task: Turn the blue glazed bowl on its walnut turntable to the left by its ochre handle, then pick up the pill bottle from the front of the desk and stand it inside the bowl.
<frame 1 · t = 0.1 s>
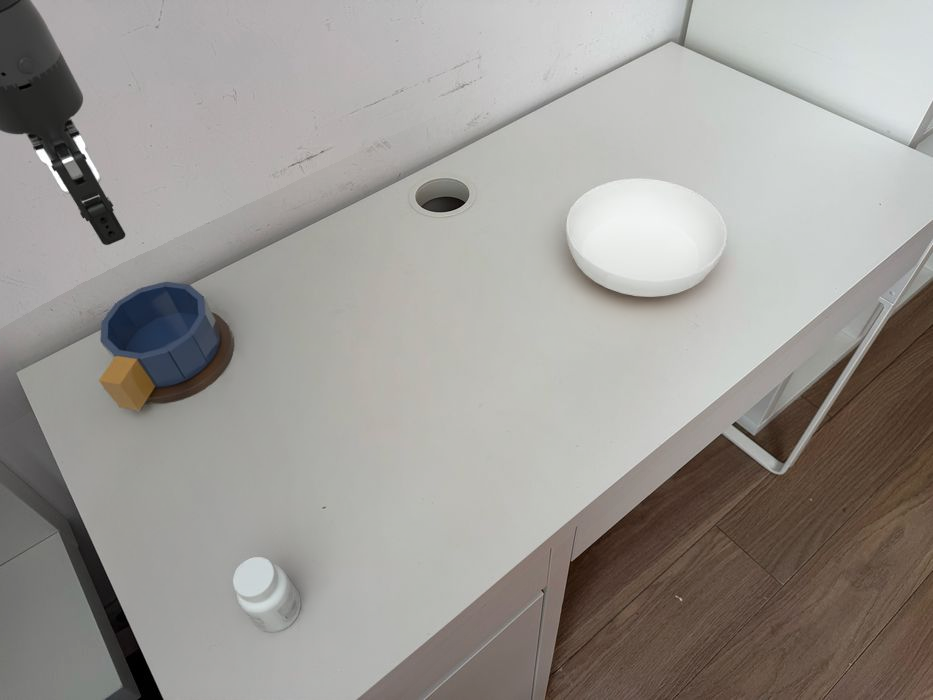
hand: (102, 217, 68), 21 cm above the table, tool pointing down, fingers open, 8 cm apart
turntable: (176, 356, 83), on the table
serving bowl: (155, 345, 79), point 4 cm above the table, hinge at 0.0°
pill bottle: (278, 609, 63), on the table
bowl: (638, 263, 90), on the table
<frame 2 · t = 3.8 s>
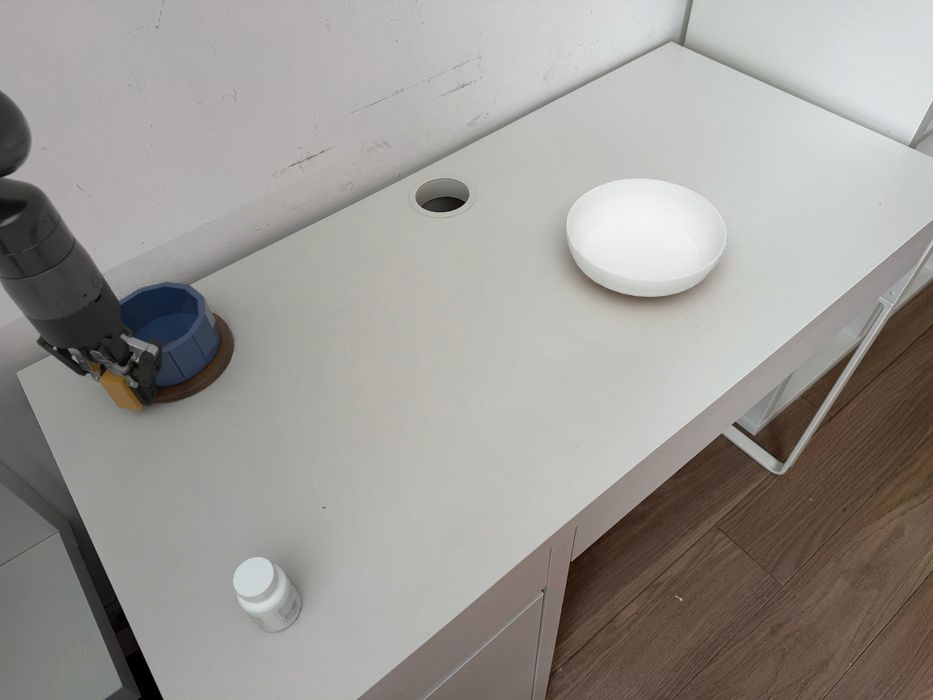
hand: (137, 396, 77), 2 cm above the table, tool pointing down, fingers closed on serving bowl, 2 cm apart
serving bowl: (155, 345, 79), point 4 cm above the table, hinge at 0.0°, touching gripper
everything else where it was.
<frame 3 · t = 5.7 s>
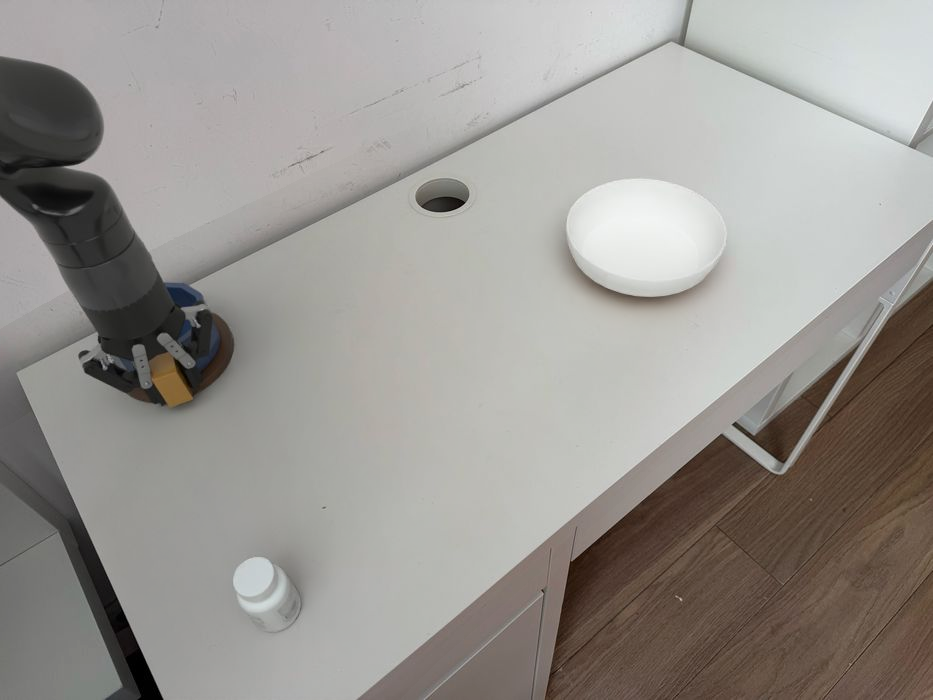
hand: (179, 391, 77), 2 cm above the table, tool pointing down, fingers closed on serving bowl, 3 cm apart
serving bowl: (164, 344, 79), point 4 cm above the table, hinge at 36.5°, touching gripper
everything else where it was.
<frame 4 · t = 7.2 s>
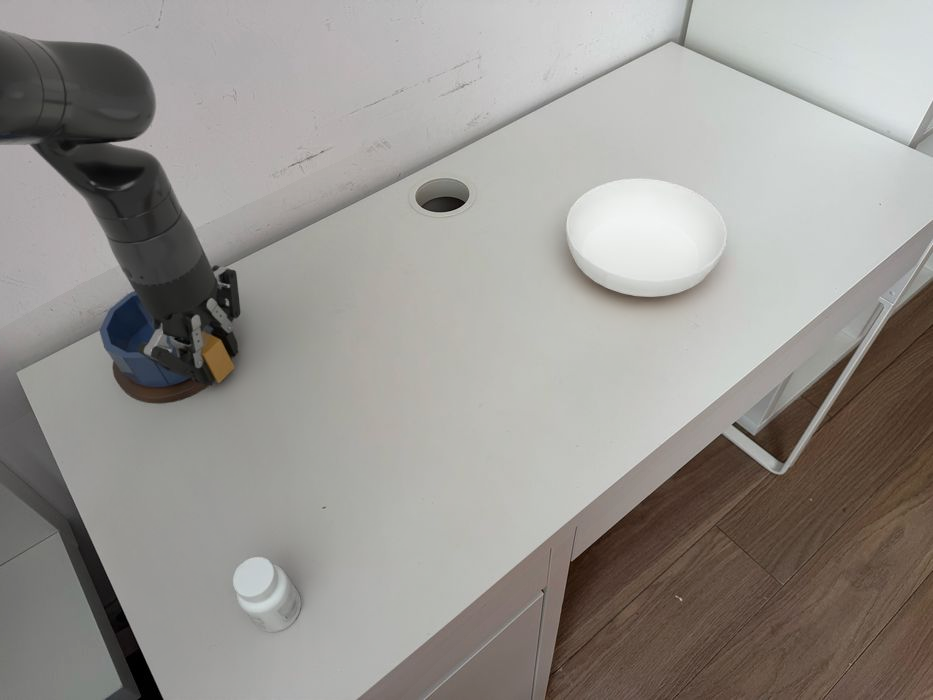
hand: (218, 366, 79), 2 cm above the table, tool pointing down, fingers open, 4 cm apart
serving bowl: (173, 339, 80), point 4 cm above the table, hinge at 72.4°, touching gripper
everything else where it was.
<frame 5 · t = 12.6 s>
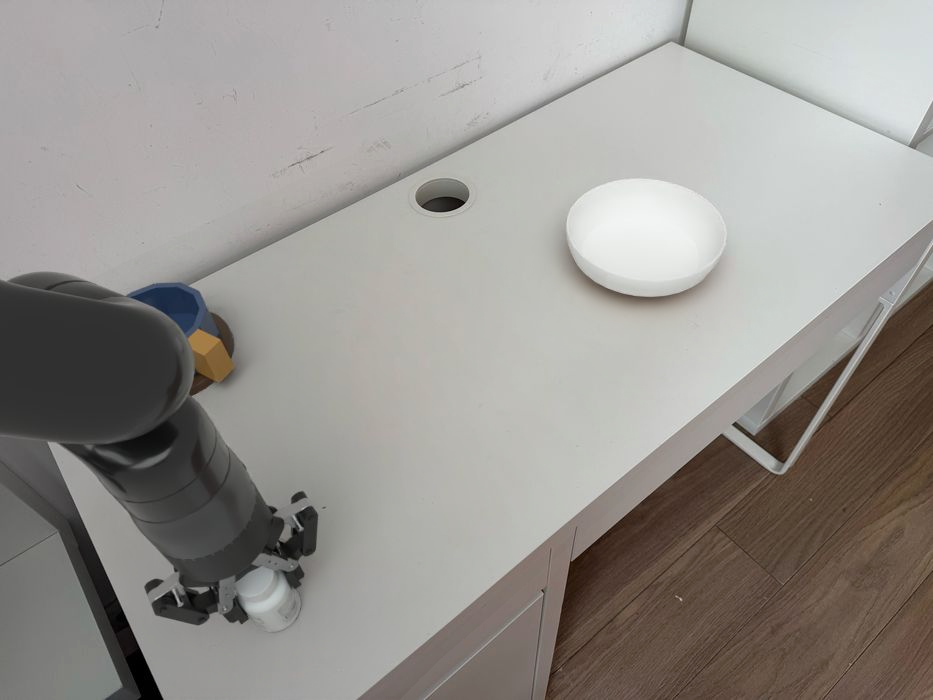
hand: (268, 595, 60), 3 cm above the table, tool pointing down, fingers closed on pill bottle, 4 cm apart
serving bowl: (173, 339, 80), point 4 cm above the table, hinge at 72.4°
pill bottle: (278, 609, 63), on the table, touching gripper
everything else where it was.
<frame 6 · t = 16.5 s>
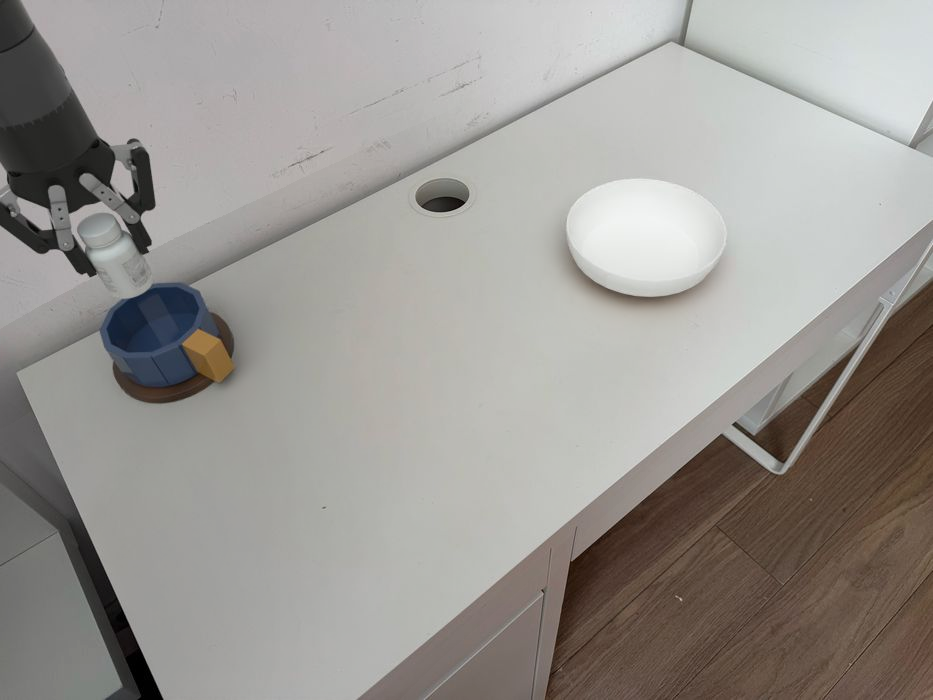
hand: (117, 259, 66), 20 cm above the table, tool pointing down, fingers closed on pill bottle, 4 cm apart
pill bottle: (133, 285, 68), point 16 cm above the table, touching gripper
everything else where it was.
when the fingers open (6 cm above the table, at t = 20.3 s): pill bottle stays where it is, resting on serving bowl.
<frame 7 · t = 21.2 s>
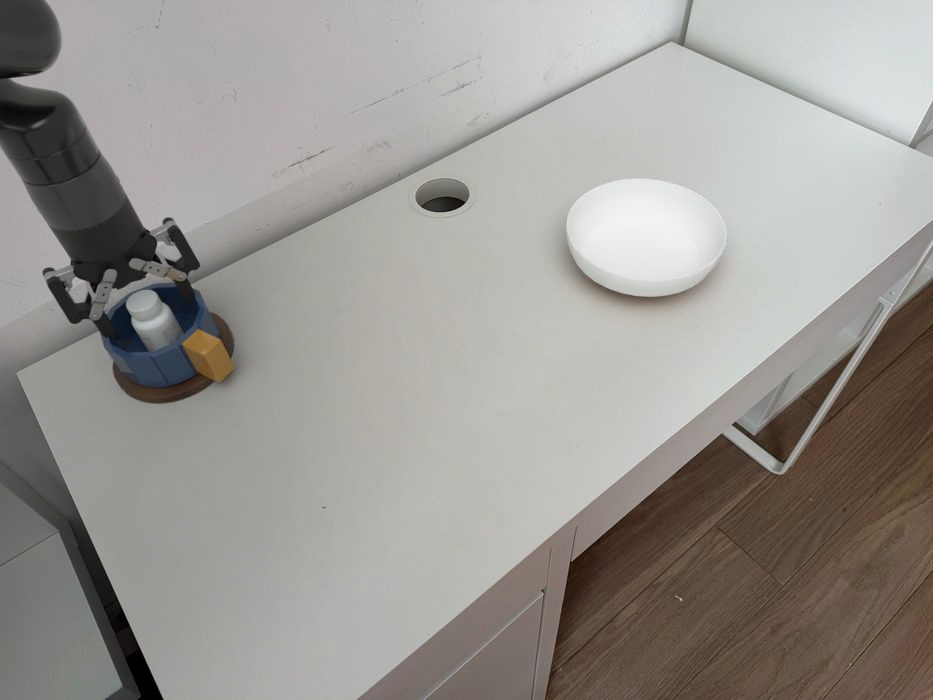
hand: (152, 317, 78), 7 cm above the table, tool pointing down, fingers open, 8 cm apart
serving bowl: (173, 339, 80), point 4 cm above the table, hinge at 72.4°, touching pill bottle
pill bottle: (169, 346, 82), point 2 cm above the table, touching serving bowl
everything else where it was.
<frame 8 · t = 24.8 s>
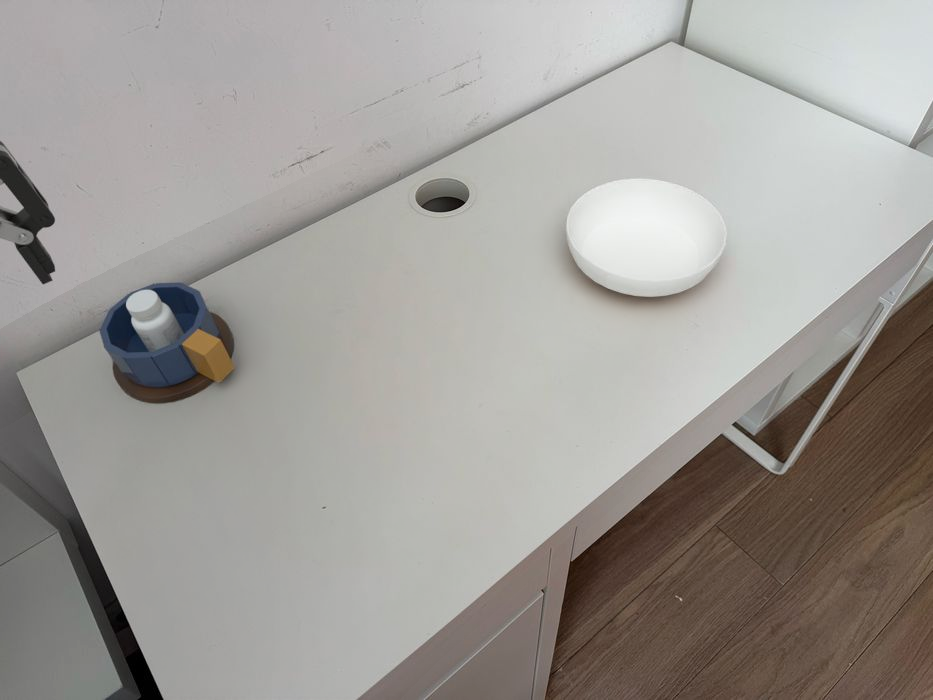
nothing on the table moved.
at the end: serving bowl at +72° (first picture: +0°); pill bottle inside the target area on the serving bowl (0.1 cm from its centre), point 2.1 cm above the serving bowl's base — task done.
